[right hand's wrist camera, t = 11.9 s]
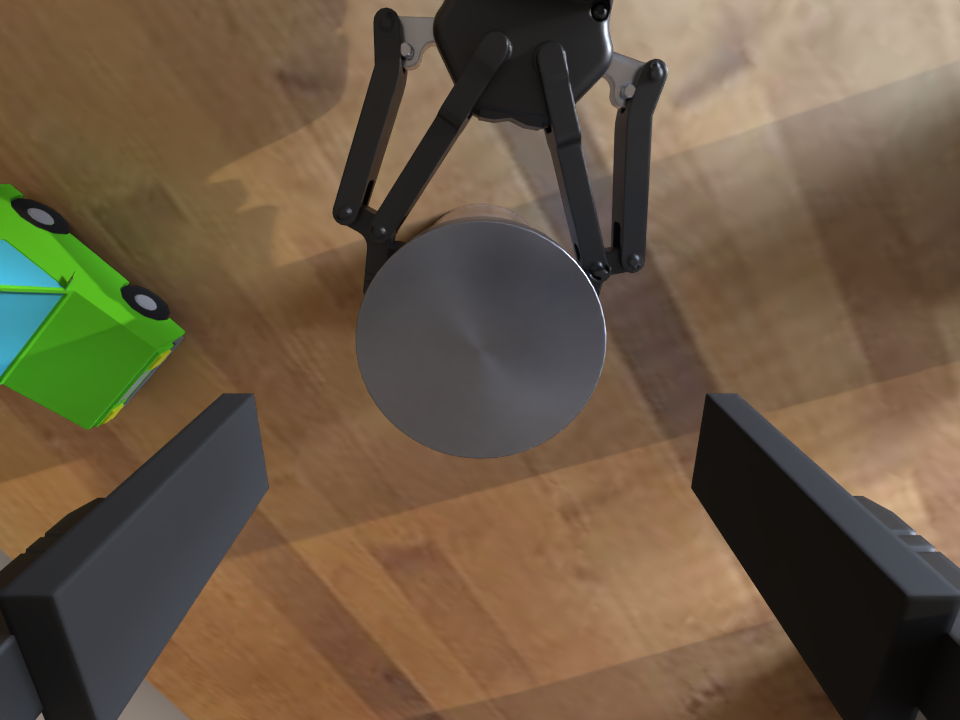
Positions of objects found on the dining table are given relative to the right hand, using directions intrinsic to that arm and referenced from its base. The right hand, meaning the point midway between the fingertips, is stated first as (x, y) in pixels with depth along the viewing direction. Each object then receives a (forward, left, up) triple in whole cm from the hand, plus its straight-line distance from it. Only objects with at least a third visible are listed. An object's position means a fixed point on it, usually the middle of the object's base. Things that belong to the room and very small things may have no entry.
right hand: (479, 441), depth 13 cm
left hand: (+2, +4, -17) cm, 17 cm away
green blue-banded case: (+26, -4, -23) cm, 35 cm away
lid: (0, 0, -8) cm, 8 cm away
